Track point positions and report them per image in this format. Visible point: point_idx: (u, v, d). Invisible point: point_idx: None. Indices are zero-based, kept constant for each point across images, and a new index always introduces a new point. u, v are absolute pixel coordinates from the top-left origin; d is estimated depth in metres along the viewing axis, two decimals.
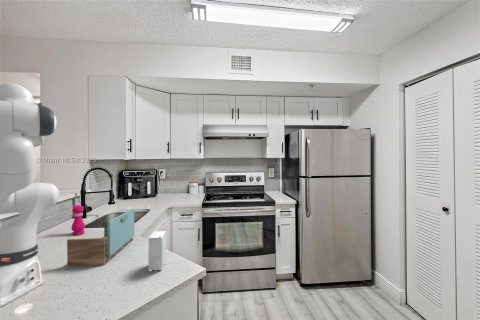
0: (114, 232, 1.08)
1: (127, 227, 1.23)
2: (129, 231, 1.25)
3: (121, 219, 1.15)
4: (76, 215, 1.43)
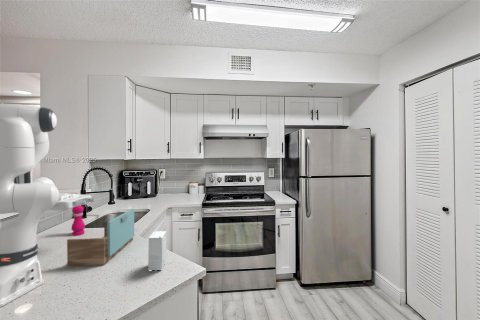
0: (114, 232, 1.08)
1: (127, 227, 1.23)
2: (129, 231, 1.25)
3: (121, 219, 1.15)
4: (76, 215, 1.43)
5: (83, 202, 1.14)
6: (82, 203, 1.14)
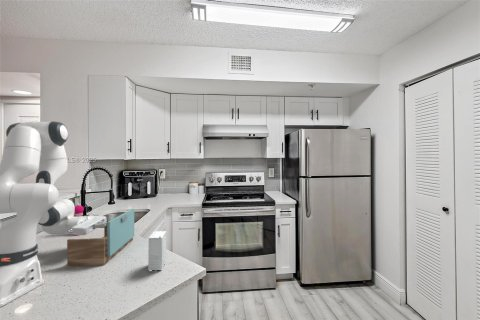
0: (114, 232, 1.08)
1: (127, 227, 1.23)
2: (129, 231, 1.25)
3: (121, 219, 1.15)
4: (76, 215, 1.43)
5: (103, 225, 1.16)
6: (102, 226, 1.16)
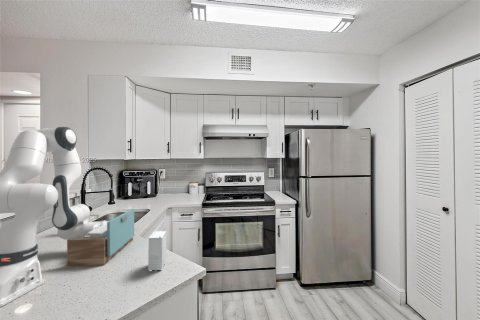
0: (114, 232, 1.08)
1: (127, 227, 1.23)
2: (129, 231, 1.25)
3: (121, 219, 1.15)
4: None
5: None
6: None
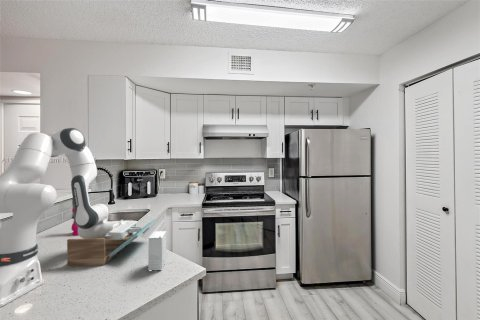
0: None
1: None
2: None
3: (144, 232, 1.16)
4: None
5: (137, 229, 1.17)
6: (136, 230, 1.17)
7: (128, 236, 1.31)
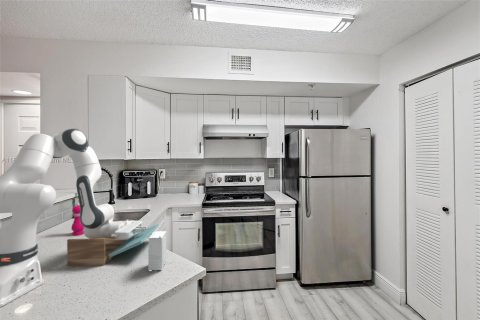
0: None
1: None
2: None
3: None
4: (76, 215, 1.43)
5: (142, 229, 1.17)
6: (141, 230, 1.17)
7: None
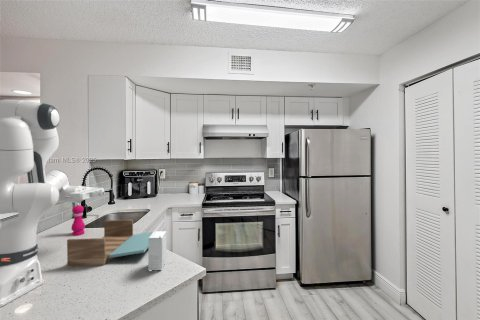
0: None
1: None
2: None
3: None
4: (76, 215, 1.43)
5: (100, 193, 1.18)
6: (99, 194, 1.18)
7: (128, 236, 1.31)
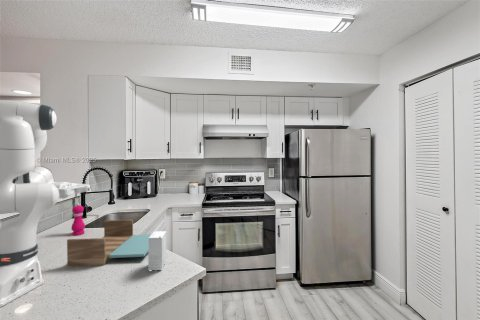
0: None
1: None
2: None
3: None
4: (76, 215, 1.43)
5: (85, 189, 1.19)
6: (84, 190, 1.19)
7: (128, 236, 1.31)
